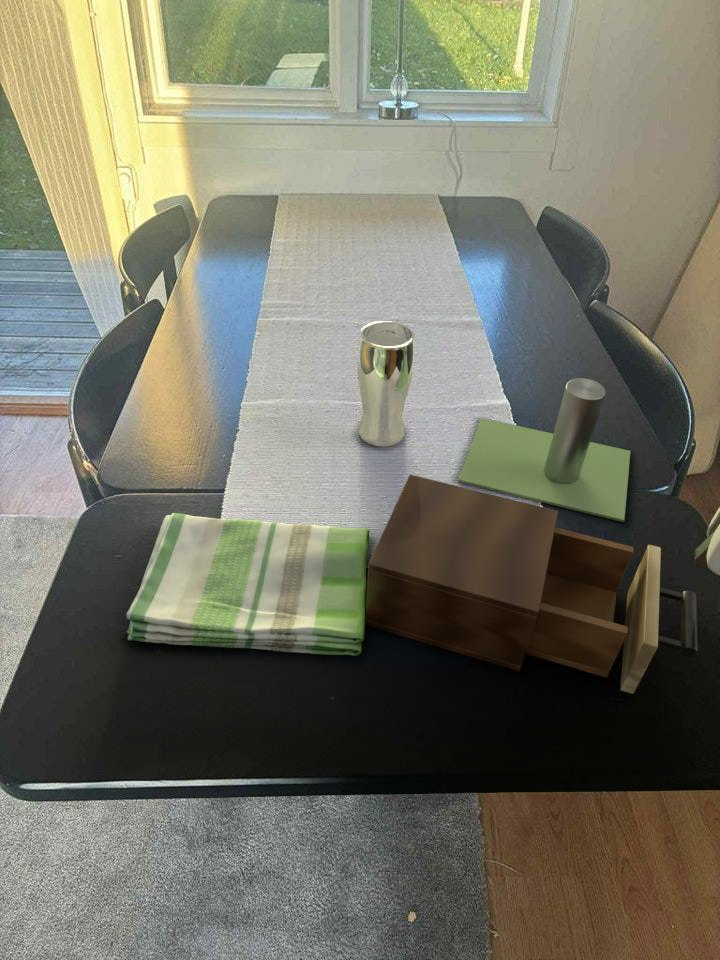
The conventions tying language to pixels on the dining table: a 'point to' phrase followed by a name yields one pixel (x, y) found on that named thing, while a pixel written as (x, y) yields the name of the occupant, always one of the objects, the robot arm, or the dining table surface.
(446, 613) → the cabinet
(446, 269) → the dining table surface
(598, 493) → the placemat
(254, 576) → the dish towel
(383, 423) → the beer glass
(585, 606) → the drawer
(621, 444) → the dining table surface
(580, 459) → the silver metal cylinder
